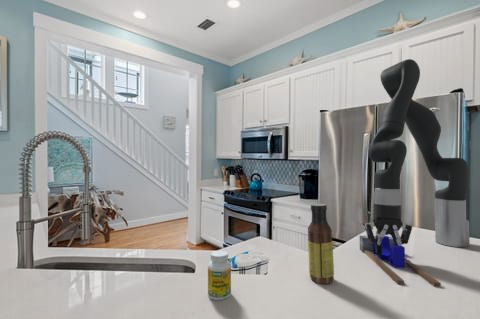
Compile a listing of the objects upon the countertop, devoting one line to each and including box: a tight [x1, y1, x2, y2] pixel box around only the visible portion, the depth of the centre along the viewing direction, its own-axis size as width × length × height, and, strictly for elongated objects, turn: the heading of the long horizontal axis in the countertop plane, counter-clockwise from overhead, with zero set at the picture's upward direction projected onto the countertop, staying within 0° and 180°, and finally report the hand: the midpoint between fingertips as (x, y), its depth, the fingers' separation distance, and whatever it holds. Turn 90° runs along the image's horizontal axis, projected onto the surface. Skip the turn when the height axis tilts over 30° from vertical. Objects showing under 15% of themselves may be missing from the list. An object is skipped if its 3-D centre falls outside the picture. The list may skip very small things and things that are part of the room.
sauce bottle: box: [307, 202, 335, 285], centre depth 66 cm, size 6×6×20 cm
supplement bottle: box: [207, 250, 232, 301], centre depth 58 cm, size 5×5×10 cm
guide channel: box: [359, 235, 442, 288], centre depth 76 cm, size 11×26×5 cm, turn 173°
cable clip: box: [373, 235, 406, 269], centre depth 79 cm, size 12×4×6 cm, turn 171°
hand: (387, 255), depth 79 cm, fingers closed on cable clip, 4 cm apart
